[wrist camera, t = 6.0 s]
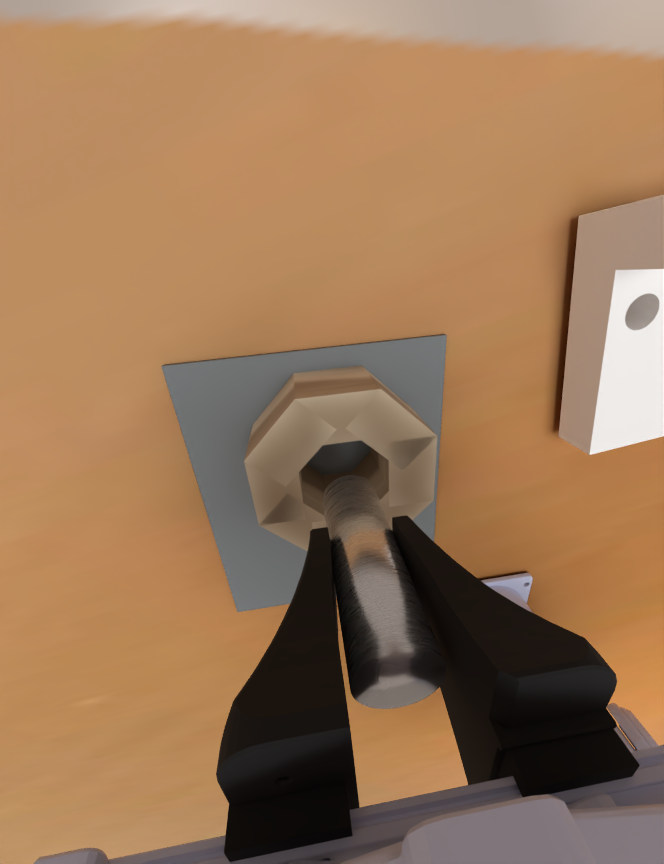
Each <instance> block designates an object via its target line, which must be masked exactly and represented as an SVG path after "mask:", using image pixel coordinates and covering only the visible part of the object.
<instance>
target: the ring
mask: <svg viewBox="0 0 664 864" xmlns="http://www.w3.org/2000/svg"><path fill="white" fill-rule="evenodd" d="M359 440H362V441H363V442H365V443H366V444H367V445H369V446H370V450H371V451H370V452H369V453H368V455H367V456H366V457H365V458H364V459H363V460H362V461H361V462H360V463H359V464H358V465H357V466H356V467H355V468H354V469H353V470H352V472H344V473H337V474H329V475H322V474H320V473H319V472H317V471H316V470H314V469H313V468H311V467H310V466H308V465H307V462H308V461H309V460H310V459H311V458H312V457H313V456H314V455H315V453H316V452H317V451H318V450H319V449H320V448H321V447H322V446H323V445H328V444H336V443H344V442H351V441H359ZM436 449H437V435H436V434H435V433H434V432H433V431H432V430H431V428H430V427H429V426H428V425H427V424H426V423H425V422H424V421H423V420H422V419H421V418H420V417H419V416H418V414H417V413H416V412H415V411H414V410H413V409H412V408H411V407H410V406H409V405H408V404H407V403H406V402H404V401H403V400H402V399H401V398H400V397H399V396H397V395H396V394H395V393H394V392H393V391H391V390H390V389H389V388H388V387H387V386H386V385H384V384H383V383H382V382H381V381H380V380H378V379H377V378H376V377H375V376H374V375H373V374H371V373H370V372H369V371H368V370H367V369H365V368H364V367H363V366H362V365H361V366H352V367H343V368H334V369H326V370H317V371H308V372H299V373H293V374H292V376H291V377H290V378H289V379H288V381H287V382H286V383H285V384H284V386H283V387H282V388H281V390H280V391H279V392H278V393H277V395H276V396H275V397H274V398H273V400H272V401H271V402H270V403H269V405H268V406H267V407H266V408H265V410H264V411H263V412H262V413H261V415H260V416H259V417H258V419H257V420H256V421H255V422H254V424H253V426H252V431H251V435H250V439H249V443H248V447H247V451H246V455H245V459H244V463H245V467H246V472H247V476H248V480H249V485H250V489H251V494H252V498H253V502H254V507H255V511H256V515H257V520H258V524H259V526H261V527H263V528H264V529H266V530H268V531H270V532H272V533H274V534H276V535H278V536H279V537H281V538H283V539H285V540H287V541H289V542H291V543H292V544H294V545H296V546H298V547H300V548H302V549H304V550H306V551H308V546H309V539H310V531H311V530H312V529H317V528H324V527H326V522H325V515H324V508H323V501H322V498H323V493H324V491H325V489H326V487H327V486H328V485H329V484H330V483H331V482H332V481H334V480H335V479H337V478H339V477H342V476H346V475H358V476H362V477H364V478H366V479H368V480H369V481H370V482H371V483H372V484H373V486H374V488H375V490H376V492H377V495H378V497H379V500H380V502H381V505H382V507H383V510H384V512H385V515H386V517H387V520H388V522H389V525H390V527H391V530H392V517H399V516H405V515H407V516H409V517H410V518H411V519H412V520H413V519H414V518H415V517H416V516H417V515H418V514H419V513H421V512H422V511H423V510H424V509H425V508H426V507H427V506H428V505H429V504H430V503H431V502H432V501H433V500H434V484H435V467H436Z"/></svg>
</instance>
